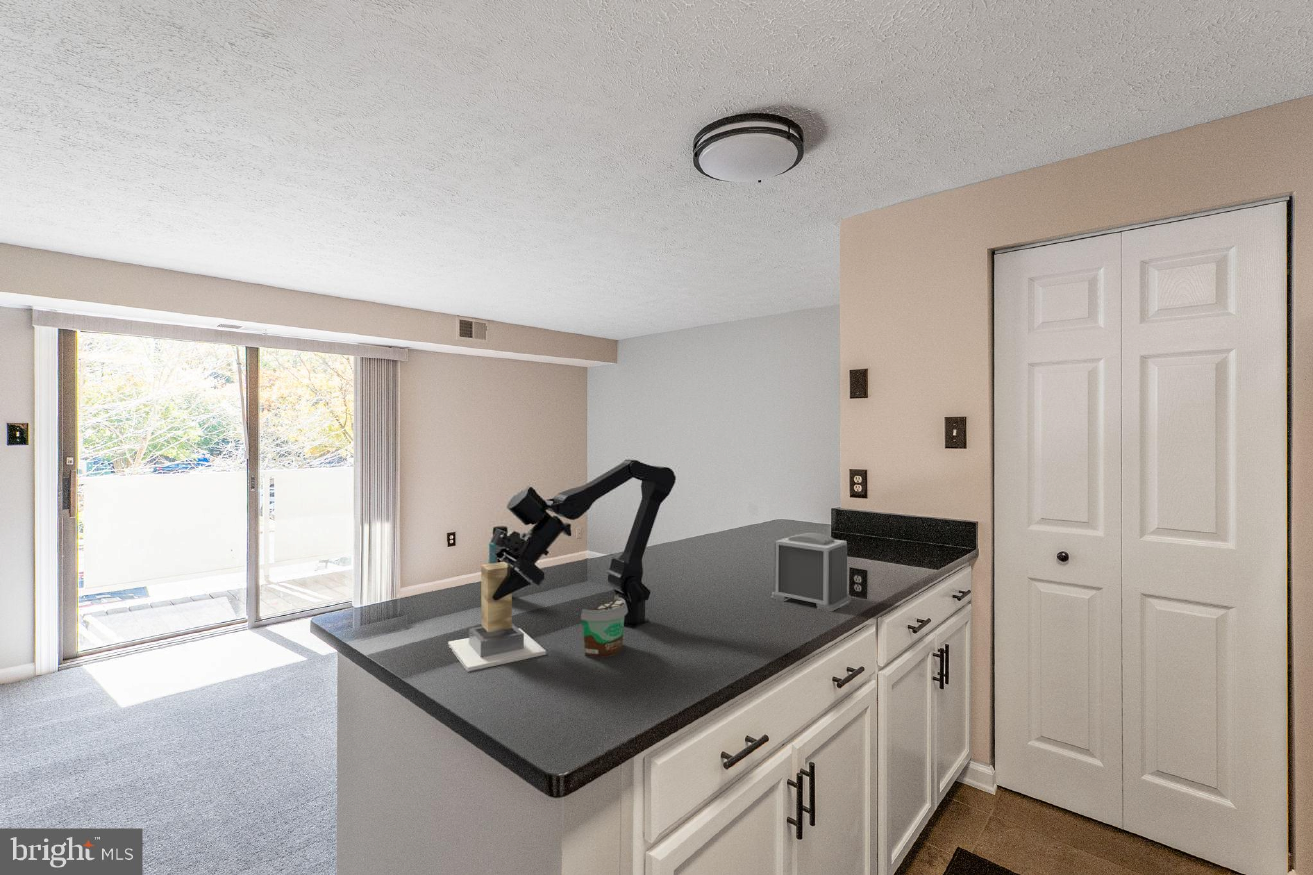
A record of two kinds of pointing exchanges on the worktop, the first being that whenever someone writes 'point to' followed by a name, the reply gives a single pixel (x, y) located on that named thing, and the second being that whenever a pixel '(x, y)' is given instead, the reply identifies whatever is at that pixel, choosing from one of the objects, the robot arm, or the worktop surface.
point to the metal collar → (495, 640)
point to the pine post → (492, 611)
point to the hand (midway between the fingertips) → (490, 596)
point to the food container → (604, 628)
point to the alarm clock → (811, 569)
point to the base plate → (475, 662)
